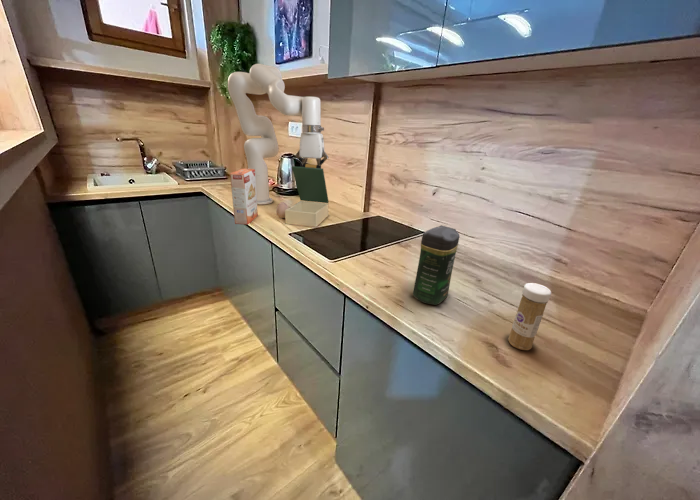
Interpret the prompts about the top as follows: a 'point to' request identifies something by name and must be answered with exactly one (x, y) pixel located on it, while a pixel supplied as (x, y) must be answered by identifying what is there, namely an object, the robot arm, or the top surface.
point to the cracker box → (244, 195)
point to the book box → (306, 213)
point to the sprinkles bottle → (529, 315)
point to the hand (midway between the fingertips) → (312, 173)
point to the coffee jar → (435, 264)
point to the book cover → (311, 183)
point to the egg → (281, 209)
